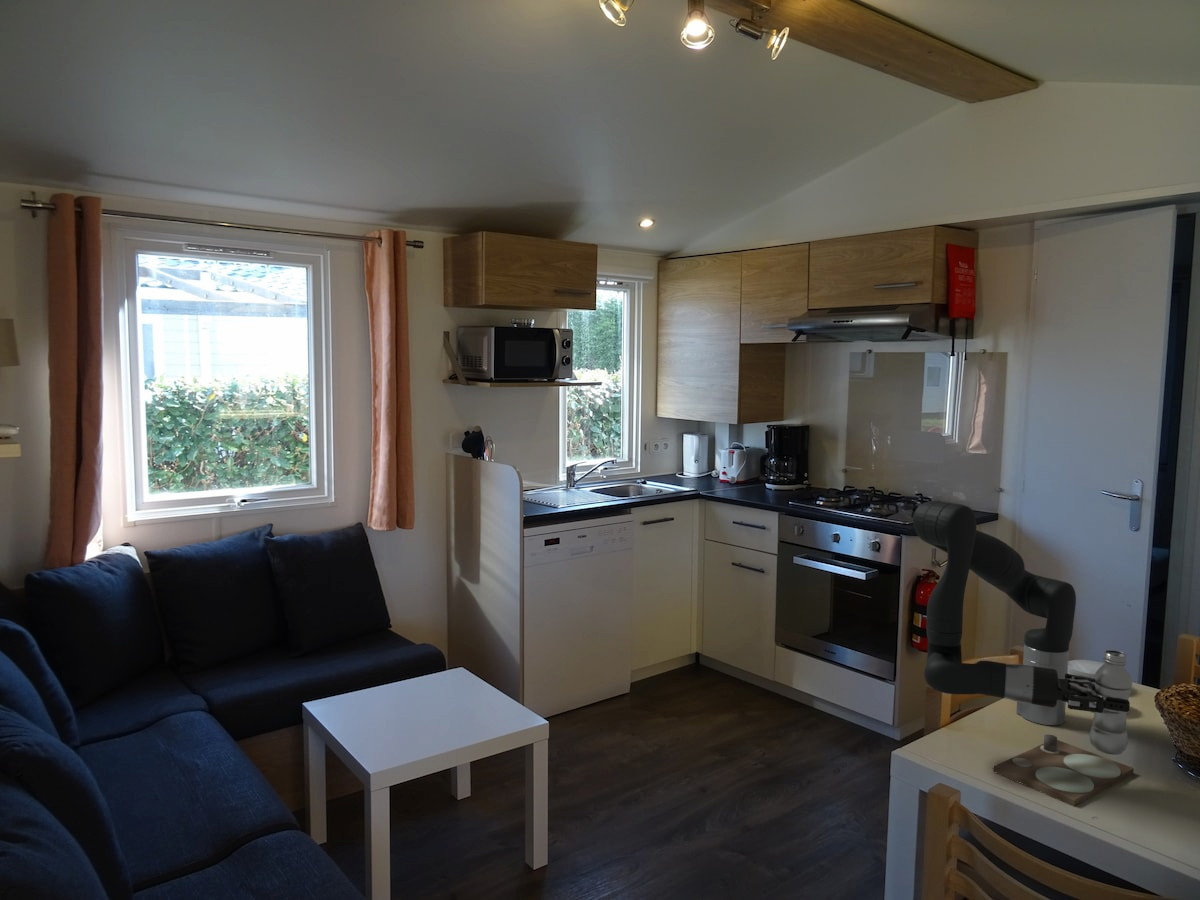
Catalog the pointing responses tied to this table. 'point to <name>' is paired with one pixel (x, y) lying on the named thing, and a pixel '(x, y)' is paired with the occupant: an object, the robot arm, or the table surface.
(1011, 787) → the table surface
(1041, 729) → the table surface
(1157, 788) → the table surface
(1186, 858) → the table surface
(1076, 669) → the ramekin
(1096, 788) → the board
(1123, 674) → the plastic bottle
